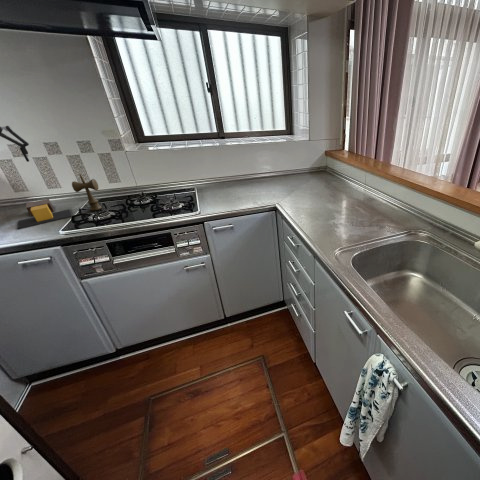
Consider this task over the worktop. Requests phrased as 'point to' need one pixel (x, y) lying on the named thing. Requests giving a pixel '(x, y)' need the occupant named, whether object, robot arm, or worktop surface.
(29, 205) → the walnut block
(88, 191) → the kendama
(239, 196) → the worktop surface
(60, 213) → the rubber mat
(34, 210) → the mustard cube
